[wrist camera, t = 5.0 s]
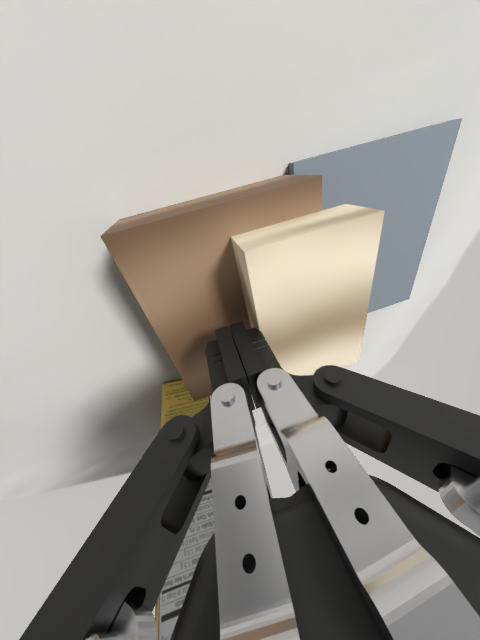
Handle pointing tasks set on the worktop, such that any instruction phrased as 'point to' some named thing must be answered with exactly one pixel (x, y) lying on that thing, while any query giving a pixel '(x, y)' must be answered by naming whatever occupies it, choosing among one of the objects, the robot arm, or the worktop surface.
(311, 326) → the tile
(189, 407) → the candy box
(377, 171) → the mat
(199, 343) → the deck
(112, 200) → the worktop surface
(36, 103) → the worktop surface
